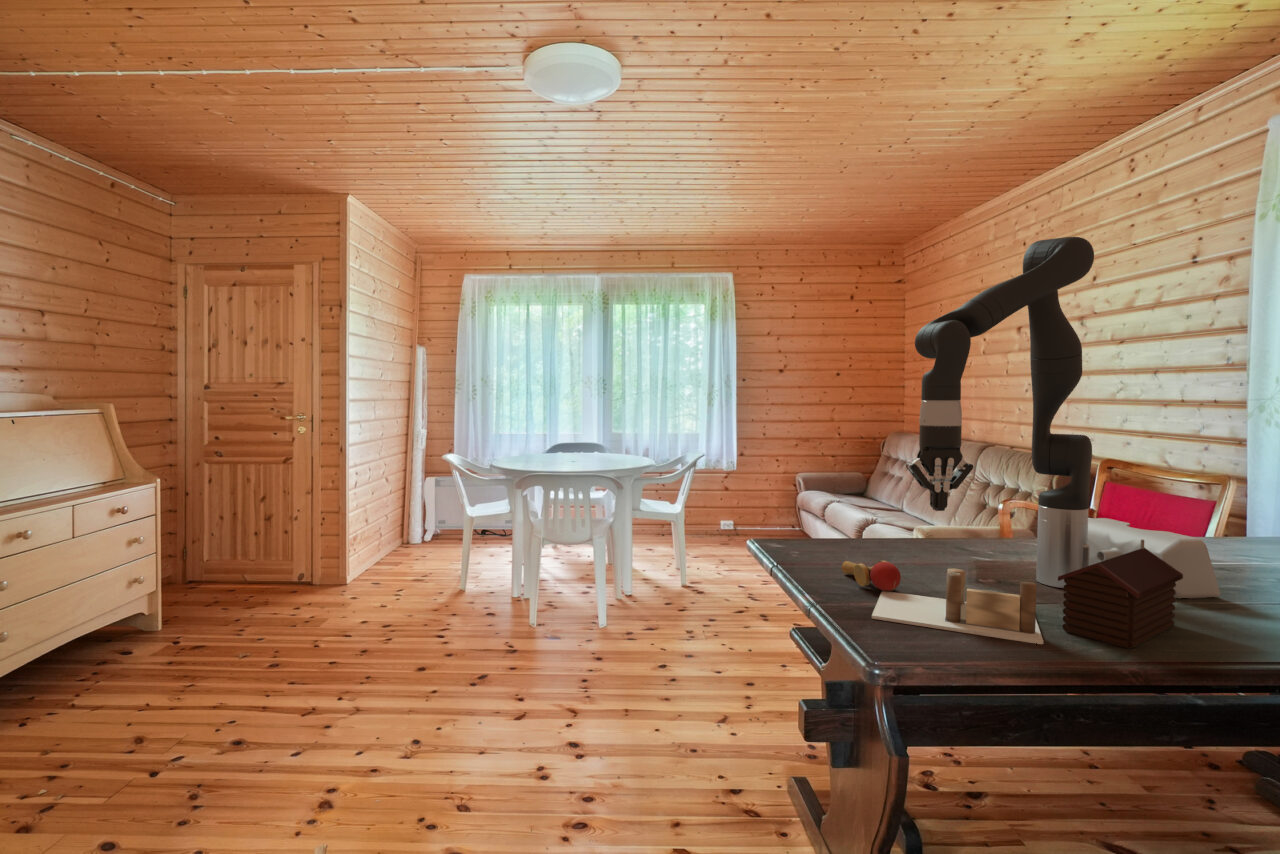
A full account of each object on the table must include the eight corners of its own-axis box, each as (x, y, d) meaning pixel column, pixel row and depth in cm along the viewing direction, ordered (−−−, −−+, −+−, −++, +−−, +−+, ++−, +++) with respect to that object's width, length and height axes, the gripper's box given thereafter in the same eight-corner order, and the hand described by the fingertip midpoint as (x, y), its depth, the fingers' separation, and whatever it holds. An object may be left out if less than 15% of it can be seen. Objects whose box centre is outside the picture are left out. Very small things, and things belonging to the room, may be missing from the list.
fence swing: (963, 616, 115) (964, 584, 114) (943, 613, 116) (944, 581, 116) (964, 600, 124) (965, 569, 124) (947, 597, 126) (947, 567, 125)
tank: (1056, 569, 151) (1057, 517, 151) (1116, 567, 153) (1118, 516, 152) (1151, 602, 126) (1153, 541, 126) (1222, 599, 128) (1224, 539, 128)
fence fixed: (1034, 633, 109) (1035, 582, 108) (1035, 638, 107) (1037, 586, 106) (945, 620, 115) (946, 572, 115) (945, 624, 113) (946, 575, 113)
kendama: (829, 580, 145) (875, 589, 127) (832, 552, 146) (878, 558, 128) (859, 585, 146) (908, 595, 129) (862, 558, 147) (911, 564, 130)
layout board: (1032, 613, 119) (1032, 610, 119) (1043, 644, 104) (1043, 640, 104) (882, 593, 131) (882, 590, 131) (871, 618, 116) (871, 615, 116)
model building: (1105, 609, 122) (1108, 533, 121) (1181, 627, 112) (1184, 545, 111) (1056, 630, 110) (1058, 547, 110) (1135, 653, 101) (1138, 561, 100)
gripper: (915, 424, 120) (914, 514, 120) (984, 424, 120) (982, 513, 120) (899, 422, 127) (897, 507, 128) (963, 422, 127) (961, 506, 128)
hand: (938, 510), depth 124 cm, fingers closed
